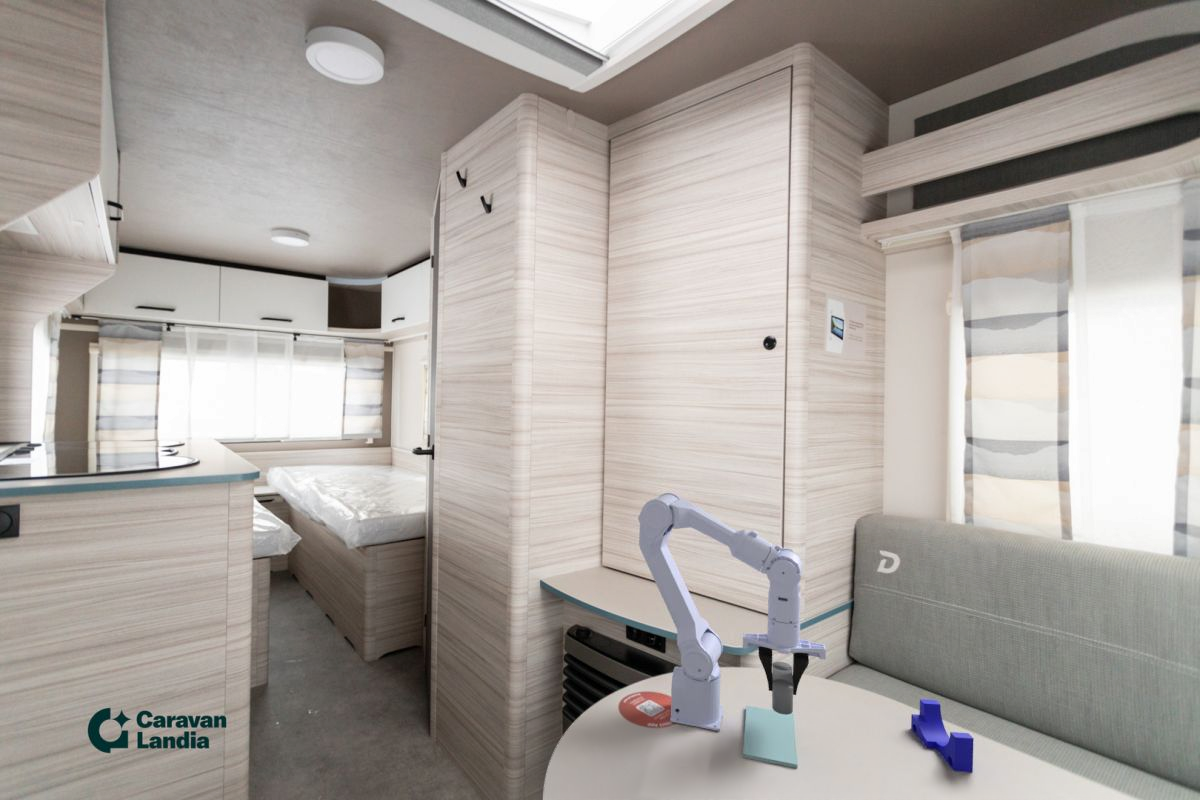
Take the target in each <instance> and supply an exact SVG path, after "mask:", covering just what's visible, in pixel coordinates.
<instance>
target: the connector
mask: <svg viewBox="0 0 1200 800" xmlns="http://www.w3.org/2000/svg"><path fill="white" fill-rule="evenodd" d="M772 680H773V687H772V691H771V702H772V703H771V708H772V710H774V711H776V712H777V713H780V714H785V715H787V714H791V713H792V714H793V713H794V712H793V710H794V695H793V666H792V665H791V664H789V663H788V662H785V661H784V662H783V661H775V662H772Z"/></svg>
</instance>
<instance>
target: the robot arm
mask: <svg viewBox="0 0 1200 800" xmlns="http://www.w3.org/2000/svg"><path fill="white" fill-rule="evenodd" d="M637 520H638V523H639V537H638V539H639V540H638V546H639V548H640V551H641V554H642V556H643V559H644V560H645V562H646V564H647V566H648V569H649V571H650V574H651V575H652V578H653V580H654V582H655V584H656V586H657V588H658V592H659V593H660V595H661V597H662V599H663V601H664V604H665V605H666V608H667V610H668V612H669V616H670V617H671V619H672V621H673V623H674V627H676V630H677V631H676V634H677V638H676V644H677V647H678V650H679V652H680V665H681V666H674V668H673V672H672V676H671V689H670V690H671V692H670V693H671V696H670V697H671V698H670V719H669V721H670V722H671V723H675V724H682V725H687V726H692V727H697V728H703V729H705V730H706V729H707V730H712V731H717V732H718V731H720V730H721V726H722V719H723V711H724V708H723V706H721V675H722V674H721V672H722V671H721V668H720V666H719V662H718V659H720V657H721V656H722V654H723V650H724V644H723V641H722V639H721V637H720V636H719V635H718V633H716V631H714V630H713V629H712V627H710V623H709V622H708V621H707V620H706V619H704V618H703V617H701V615H700V613H699V611H698V608H697V606H696V604H695V602H694V600H693V598H692V595H691V593H690V591H689V589H688V588H687V585H686V583H685V580H684V579H683V576H682V574H681V572H680V571H679V568H678V566H677V564H676V562H675V561H676V560H674V557H673V555H672V553H671V551H670V548H669V547H668V541H669V538H670V535H671V533H672V531H673V530H677V529H687V528H691V529H694V530H695V531H697V532H699V533H702V534H704V535H706V536H707V537H710V538H712V539H713V540H716V541H717V542H718V543H720V544H723V545H725V546H727V547H728V548H729V551H730V553H731V556H732V557H734V558H735V559H737V560H739V561H740V562H742V563H744V564H746V565H748V566H749V567H750V568H753V569H754V570H756V571H757V572H760V573H761V574H764V575H766V577H767V579H768V581H769V589H768V592H767V593H768V594H767V595H768V605H767V633H742V634H743V635H742V648H744V649H749V648H755V649H758V657H759V660H760V662H761V665H762V667H763V670H764V672H765V676H766V680H767V686H768V691H769V692H772V687H773V680H772V666H773V651H775V652H777V653H778V654H784V655H790V654H792V661H793V662H792V676H793V696H796V695H797V691H798V686H799V684H800V680H801V678H802V677H803V674H804V673H805V671H806V670H807V668H808V667H809V663H810V661H809V656H810V657H815V658H818V659H819V660H826V658H827V657H826V655H827V654H826V653H827V649H826V645H825V644H823V643H816V642H813V641H809V640H805V639H803V638H801V611H802V610H801V607H802V605H801V604H802V595H801V590H802V589H801V587H802V586H801V578H802V576H801V575H802V572H803V562H802V559H801V558H800V555H798V554H797V553H796V552H794V551H793V549H791V548H787V547H783V546H781V544H778V543H777V544H773V543H771V542H770V541H768V540H766V539H765V538H763V537H761V536H759V532H758V531H756V530H754V529H752V530H751V531H749V530H748V529H742V530H735V529H734V528H732V527H730V526H729V525H727V524H725V523H724V522H722V520H721V521H720V520H719V519H718V518H716V517H714V516H712V515H711V514H709V513H707V512H706V511H705V510H703V509H701V508H700V507H698V506H697V505H695V504H693V503H692V502H691V501H689V500H688V499H686V498H684V497H683V498H682V497H680V496H678V495H677V494H675V493H673V492H666V493H663V494H660V495H659V496H658V497H655V498H653V499H650V500H648V501H647V502H645V504H644V505H643V507H642V508H641V511H640V512H639V514H638V517H637Z"/></svg>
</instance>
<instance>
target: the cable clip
mask: <svg viewBox="0 0 1200 800" xmlns="http://www.w3.org/2000/svg"><path fill="white" fill-rule="evenodd" d="M910 714H911V713H910ZM910 720H911V721H910V723H911V725H910V729H911V730H912V732H913V733H914V734H915V736H916V737H917V738H918V739H919V740H920V742H921V743H922V744H923V745H924V746H925V748H926V749H932V750H933V749H934V750H936V752H938V753H939V754H940V756H941V758H943V759H944V761H945V762H946V764H948V765H949V767H950V768H951V769H952V770H953V771H954V772H962V773H973V771H974V768H973V767H974V737H972V735H971V734H970V733H968V732H955V731H950V732H949V734H948V732H947V731H946V727H945V724H944V722H943V717H942V712H941V703H940V702H939V701H938V700H936V699H919V714H918V713H917V714H915V713H914V714H911V719H910Z"/></svg>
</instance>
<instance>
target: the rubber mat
mask: <svg viewBox="0 0 1200 800" xmlns="http://www.w3.org/2000/svg"><path fill="white" fill-rule="evenodd" d="M745 707H746V709H745V723H744V724H745V725H744V737H743V739H744V740H743V750H742V754H743V755H742V758H745V759H749V760H755V761H759V762H760V761H761V762H766V763H770V764H774V765H781V766H785V767H790V768H795V769H798V765H799V764H798V755H797V754H798V753H797V743H796V742H797V740H796V730H795V719H794V717H795V715H794V713H793V712H792V713H791V714H787V715H785V714H780V713H777V712H776V711H774V710H773V709H769V708H763V707H757V706H751V705H746V706H745Z"/></svg>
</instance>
